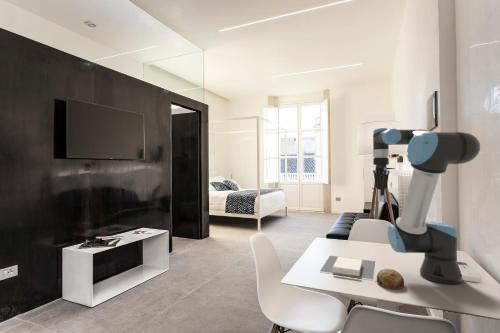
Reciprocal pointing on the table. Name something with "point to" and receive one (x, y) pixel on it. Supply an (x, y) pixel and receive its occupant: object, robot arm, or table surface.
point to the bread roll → (390, 279)
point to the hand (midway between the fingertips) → (381, 201)
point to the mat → (366, 272)
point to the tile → (347, 266)
